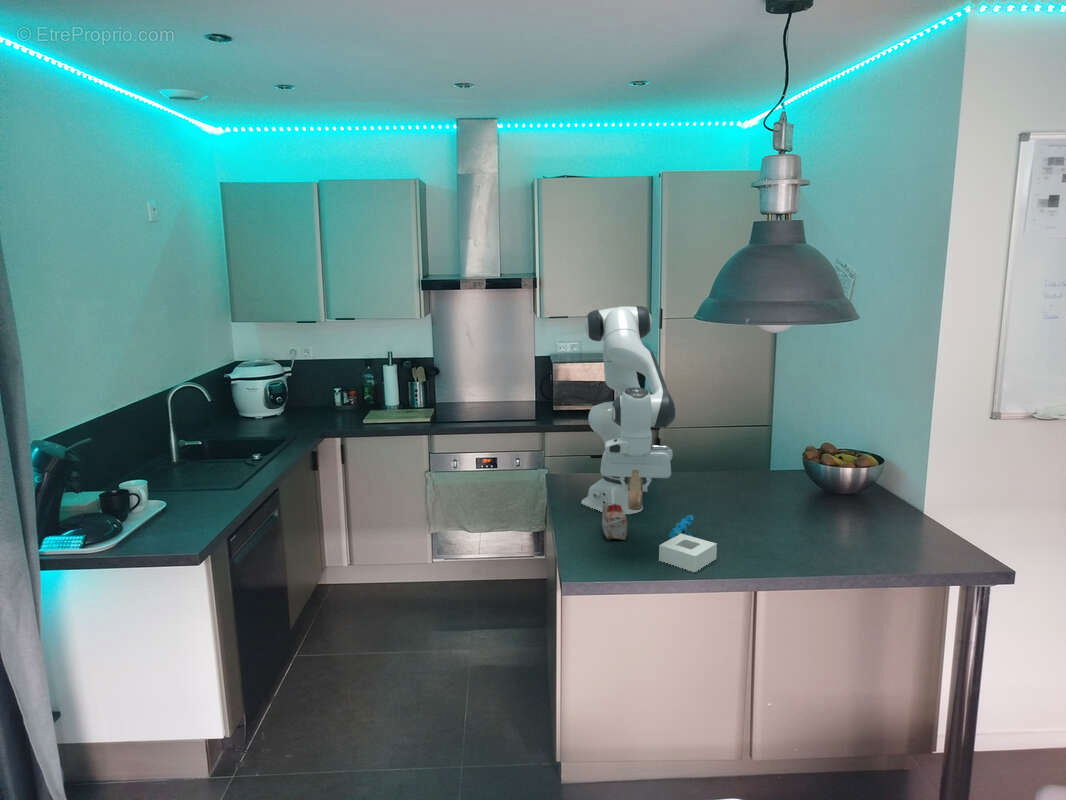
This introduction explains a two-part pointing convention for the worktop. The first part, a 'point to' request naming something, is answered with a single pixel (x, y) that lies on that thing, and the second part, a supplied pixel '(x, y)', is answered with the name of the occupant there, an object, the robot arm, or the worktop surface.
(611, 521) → the food item
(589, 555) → the worktop surface
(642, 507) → the robot arm
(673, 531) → the gear
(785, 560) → the worktop surface
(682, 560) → the fitting block
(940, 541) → the worktop surface
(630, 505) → the wooden peg
